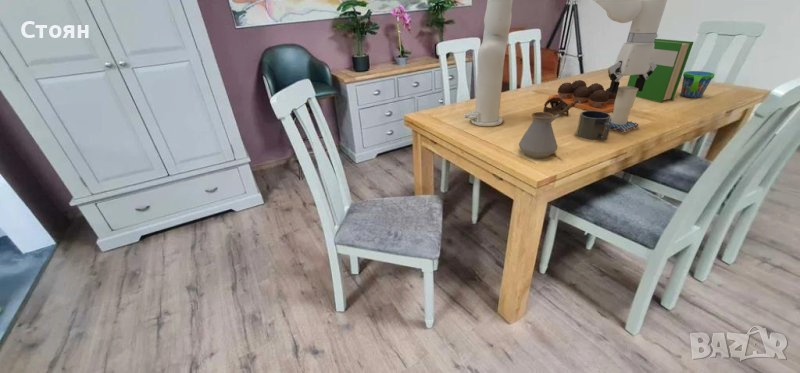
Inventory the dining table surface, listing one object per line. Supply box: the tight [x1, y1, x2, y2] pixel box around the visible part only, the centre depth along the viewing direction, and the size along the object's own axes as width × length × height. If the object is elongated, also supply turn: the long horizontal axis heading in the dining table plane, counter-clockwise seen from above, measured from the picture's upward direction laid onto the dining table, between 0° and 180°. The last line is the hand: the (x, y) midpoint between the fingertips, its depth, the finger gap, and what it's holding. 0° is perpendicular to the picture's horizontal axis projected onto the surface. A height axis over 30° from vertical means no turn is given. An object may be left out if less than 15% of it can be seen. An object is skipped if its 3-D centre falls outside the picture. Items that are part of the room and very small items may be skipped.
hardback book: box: [626, 38, 694, 103], centre depth 148 cm, size 18×7×24 cm, turn 20°
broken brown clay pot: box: [542, 97, 570, 116], centre depth 139 cm, size 12×10×8 cm
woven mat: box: [609, 117, 640, 134], centre depth 123 cm, size 10×11×2 cm
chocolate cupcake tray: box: [548, 79, 618, 113], centre depth 149 cm, size 28×17×8 cm, turn 25°
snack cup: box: [680, 70, 716, 99], centre depth 149 cm, size 16×10×10 cm
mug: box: [575, 110, 612, 141], centre depth 114 cm, size 12×9×8 cm
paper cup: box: [610, 85, 638, 125], centre depth 119 cm, size 6×6×13 cm
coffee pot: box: [518, 100, 581, 159], centre depth 106 cm, size 21×12×15 cm, turn 117°
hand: (625, 91), depth 117 cm, fingers open, 9 cm apart
